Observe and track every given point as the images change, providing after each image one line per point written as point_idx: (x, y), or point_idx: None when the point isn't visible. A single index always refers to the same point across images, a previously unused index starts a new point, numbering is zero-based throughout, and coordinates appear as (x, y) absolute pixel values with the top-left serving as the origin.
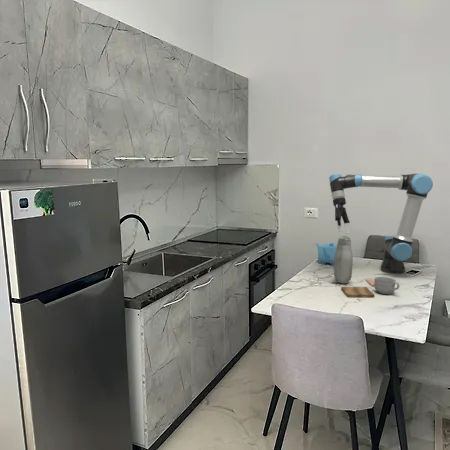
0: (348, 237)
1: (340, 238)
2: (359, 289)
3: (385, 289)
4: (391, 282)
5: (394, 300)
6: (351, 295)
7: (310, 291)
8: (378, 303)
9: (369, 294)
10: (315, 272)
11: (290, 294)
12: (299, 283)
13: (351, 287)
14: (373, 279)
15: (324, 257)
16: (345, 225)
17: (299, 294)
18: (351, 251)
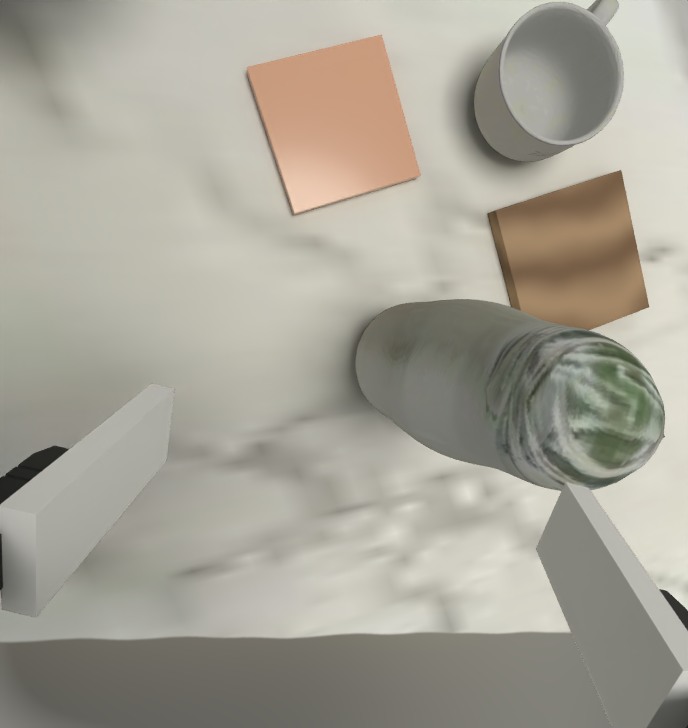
0: (611, 365)
1: (644, 463)
2: (551, 249)
3: (584, 98)
4: (605, 41)
5: (627, 72)
6: (641, 287)
7: (594, 491)
8: (685, 158)
9: (622, 196)
10: (192, 563)
11: (657, 562)
12: (478, 579)
13: (528, 295)
14: (284, 159)
15: None
16: (76, 543)
17: (648, 526)
18: (519, 312)
